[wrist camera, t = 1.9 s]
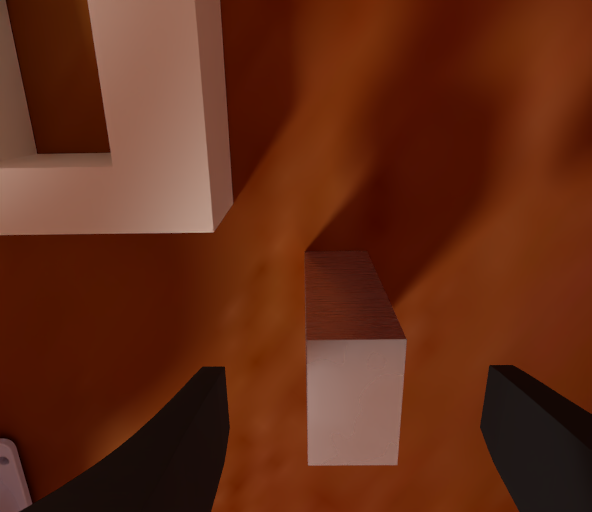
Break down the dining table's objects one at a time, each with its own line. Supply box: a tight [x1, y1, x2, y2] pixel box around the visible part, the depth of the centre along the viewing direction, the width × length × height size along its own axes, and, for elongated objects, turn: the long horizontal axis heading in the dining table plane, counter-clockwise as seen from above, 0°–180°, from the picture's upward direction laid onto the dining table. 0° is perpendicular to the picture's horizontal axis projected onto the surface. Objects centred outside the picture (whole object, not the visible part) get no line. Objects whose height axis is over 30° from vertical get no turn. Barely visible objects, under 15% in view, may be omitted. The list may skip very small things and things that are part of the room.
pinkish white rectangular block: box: [305, 251, 407, 465], centre depth 15 cm, size 4×2×7 cm, turn 1°
